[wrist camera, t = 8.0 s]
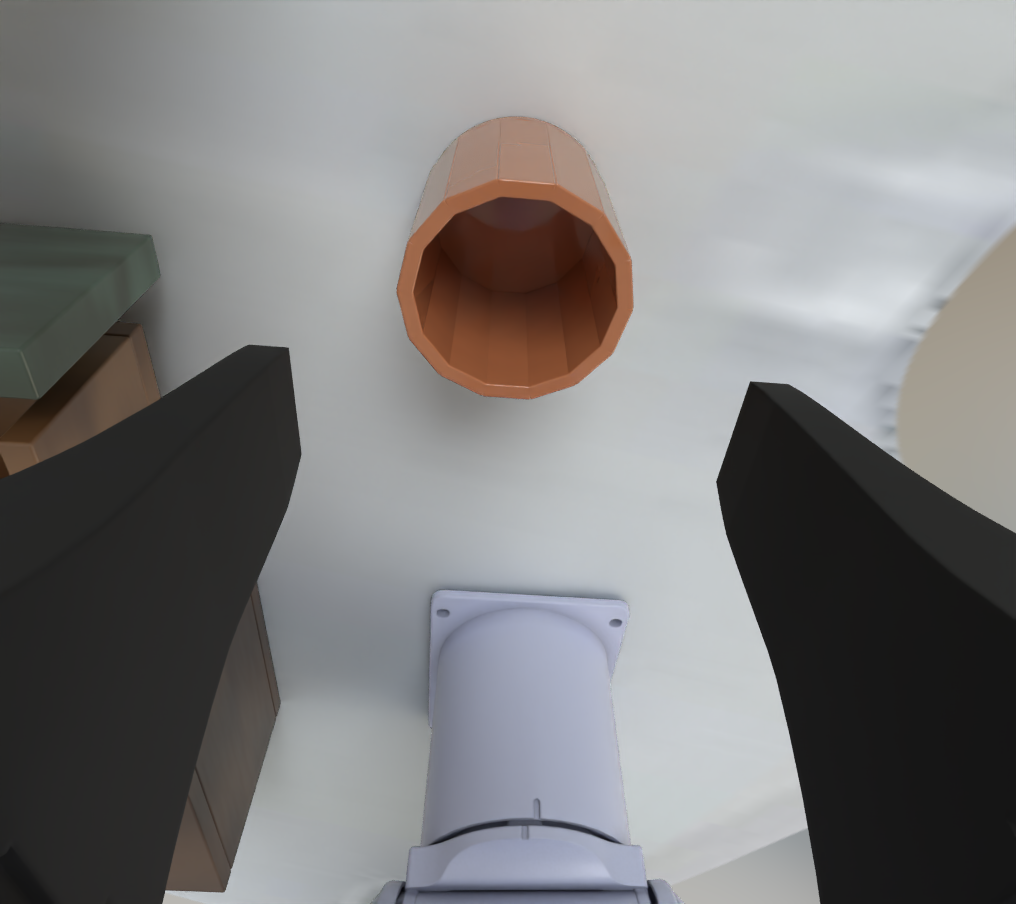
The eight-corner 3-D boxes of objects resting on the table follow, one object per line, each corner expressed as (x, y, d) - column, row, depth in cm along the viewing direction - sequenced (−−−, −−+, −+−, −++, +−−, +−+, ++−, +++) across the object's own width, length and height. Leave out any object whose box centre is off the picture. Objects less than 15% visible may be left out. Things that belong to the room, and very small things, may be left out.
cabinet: (-117, 457, 24) (-344, 651, 18) (237, 480, 25) (141, 676, 18) (16, 689, 33) (-107, 880, 26) (281, 703, 33) (224, 893, 27)
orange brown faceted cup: (592, 303, 21) (613, 406, 16) (421, 290, 21) (397, 391, 16) (621, 125, 18) (657, 192, 13) (423, 107, 18) (394, 169, 13)
